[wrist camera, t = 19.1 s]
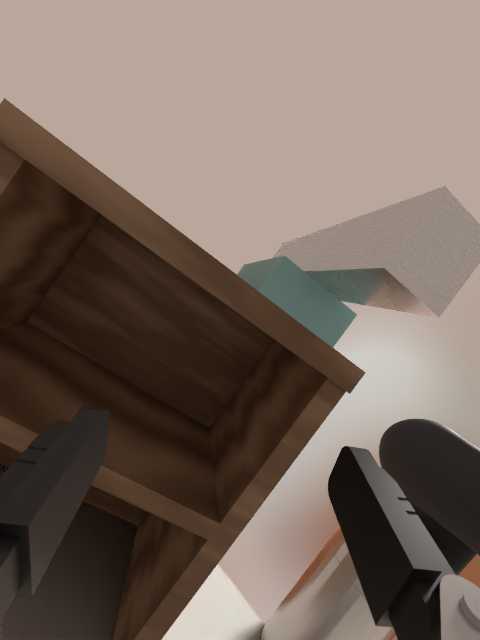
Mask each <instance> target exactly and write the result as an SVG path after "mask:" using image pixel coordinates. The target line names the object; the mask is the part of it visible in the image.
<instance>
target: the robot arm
mask: <svg viewBox="0 0 480 640" xmlns="http://www.w3.org/2000/svg"><path fill="white" fill-rule="evenodd" d="M108 424H109V410H108V409H102V408H95V407H89V406H82V407H81V408H80V409H79V410H78V412H77V413H76V414H75V415H74V417H73V418H72V419H71V420H70V422H68V421H61V420H59V421H57V422H56V423H54V424H53V425H51V426H49V427H48V428H46V429H45V430H43V431H41V432H40V433H39V435H38V436H37V437H36V438H35V439H34V440H33V441H32V442H31V443H30V445H29V446H28V448H27V450H24V451H23V452H22V454H21V455H20V456H19V457H18V458H17V459H16V462H15V463H13V464H12V465H11V466H10V467H9V468H8V469H7V470H6V471H5V472H4V474H3V475H2V476H1V477H0V640H2V631H1V621H2V619H3V617H4V616H5V614H6V612H7V610H8V609H9V607H10V605H11V603H12V602H13V600H14V598H15V596H16V595H21V596H33V594H34V592H35V590H36V588H37V587H38V585H39V583H40V581H41V579H42V577H43V575H44V573H45V571H46V570H47V568H48V566H49V564H50V562H51V560H52V558H53V556H54V554H55V552H56V551H57V549H58V547H59V545H60V543H61V541H62V539H63V537H64V535H65V533H66V532H67V530H68V528H69V526H70V524H71V522H72V520H73V518H74V516H75V514H76V513H77V511H78V509H79V507H80V505H81V503H82V501H83V499H84V497H85V495H86V494H87V492H88V490H89V488H90V486H91V484H92V482H93V480H94V478H95V476H96V475H97V473H98V471H99V469H100V467H101V465H102V462H103V459H104V456H105V453H106V448H107V438H108ZM379 457H380V463H381V466H382V468H380V467H379V466H378V464H377V463H376V461H375V460H374V458H373V456H372V454H371V453H370V452H369V451H368V450H367V449H362V448H355V447H348V446H345V447H343V448H342V449H341V452H340V454H339V456H338V458H337V461H336V463H335V466H334V468H333V470H332V472H331V475H330V477H329V481H328V492H329V497H330V500H331V503H332V506H333V509H334V511H335V514H336V516H337V520H338V522H339V525H340V526H339V527H338V529H337V530H336V531H335V533H334V534H333V535H332V537H331V538H330V540H329V541H328V542H327V543H326V545H325V546H324V547H323V549H322V550H321V551H320V553H319V554H318V555H317V557H316V558H315V559H314V561H313V562H312V563H311V564H310V566H309V567H308V568H307V570H306V571H305V572H304V574H303V575H302V576H301V578H300V579H299V580H298V582H297V583H296V584H295V586H294V587H293V588H292V590H291V591H290V592H289V593H288V595H287V596H286V597H285V599H284V600H283V601H282V602H281V604H280V605H279V606H278V608H277V609H276V610H275V612H274V613H273V614H272V616H271V617H270V618H269V620H268V621H267V622H266V624H265V625H264V627H263V629H262V634H261V640H393V638H394V637H395V636H397V638H398V639H397V640H480V589H479V588H478V587H477V586H475V585H474V584H473V583H471V582H469V581H468V580H466V579H464V578H462V577H459V576H457V575H458V574H459V573H460V572H461V571H462V570H463V569H464V568H465V567H466V566H467V564H468V563H469V562H470V561H471V560H472V559H473V558H474V557H475V555H476V554H478V555H479V556H480V449H479V448H477V447H476V446H474V445H473V444H471V443H469V442H468V441H466V440H465V439H463V438H462V437H461V436H459V435H458V434H457V433H456V432H454V431H452V430H451V429H449V428H448V427H446V426H444V425H442V424H440V423H437V422H434V421H430V420H425V419H408V420H403V421H400V422H398V423H395V424H393V425H392V426H391V427H389V428H388V429H387V430H386V431H385V433H384V434H383V436H382V438H381V441H380V446H379Z"/></svg>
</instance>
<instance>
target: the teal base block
mask: <svg viewBox="0 0 480 640" xmlns="http://www.w3.org/2000/svg"><path fill="white" fill-rule="evenodd" d="M237 275H238V276H239V277H240V278H242V279H243V280H244V281H245V282H247V283H248V284H249V285H251V286H252V287H253V288H255V289H256V290H257V291H259V292H260V293H261V294H263V295H264V296H265V297H266V298H268V299H269V300H270V301H272V302H273V303H274V304H276V305H277V306H278V307H280V308H281V309H282V310H284V311H285V312H286V313H288V314H289V315H290V316H291V317H293V318H294V319H295V320H297V321H298V322H299V323H301V324H302V325H303V326H305V327H306V328H307V329H309V330H310V331H311V332H313V333H314V334H315V335H316V336H318V337H319V338H320V339H322V340H323V341H324V342H326V343H327V344H328V345H330V346H331V347H332V348H333V347H334V345H335V344H336V343H337V341H338V340H339V339H340V337H341V336H342V335H343V333H344V332H345V330H346V329H347V328H348V326H349V325H350V324H351V322H352V321H353V319H354V318H355V317H356V316H357V315H356V314H355V313H354V312H353V311H352V310H351V309H349V308H348V307H347V306H346V305H345V304H343V303H342V302H341V301H340V300H338V299H337V298H336V297H335V296H334V295H332V294H331V293H330V292H329V291H327V290H326V289H325V288H324V287H323V286H321V285H320V284H319V283H318V282H317V281H315V280H314V279H313V278H312V277H310V276H309V275H308V274H307V273H306V272H304V271H303V270H302V269H301V268H299V267H298V266H297V265H296V264H295V263H293V262H292V261H291V260H290V259H289V258H287V257H286V256H281V257H277V258H272V259H268V260H263V261H259V262H254V263H250V264H245V265H244V266H243V267H242V269H241V270H240V271H239V273H238V274H237Z"/></svg>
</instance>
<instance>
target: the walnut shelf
mask: <svg viewBox="0 0 480 640" xmlns="http://www.w3.org/2000/svg"><path fill="white" fill-rule="evenodd" d="M364 374H365V372H364V371H363V370H361V369H360V368H359V367H357V366H356V365H355V364H353V363H352V362H351V361H349V360H348V359H347V358H345V357H344V356H343V355H341V354H340V353H339V352H338V351H336V350H335V349H334V348H332V347H331V346H330V345H328V344H327V343H326V342H324V341H323V340H322V339H320V338H319V337H318V336H316V335H315V334H314V333H313V332H311V331H310V330H309V329H307V328H306V327H305V326H303V325H302V324H301V323H299V322H298V321H297V320H295V319H294V318H293V317H291V316H290V315H289V314H288V313H286V312H285V311H284V310H282V309H281V308H280V307H278V306H277V305H276V304H274V303H273V302H272V301H270V300H269V299H268V298H266V297H265V296H264V295H263V294H261V293H260V292H259V291H257V290H256V289H255V288H253V287H252V286H251V285H249V284H248V283H247V282H245V281H244V280H243V279H242V278H240V277H239V276H238V275H236V274H235V273H234V272H232V271H231V270H230V269H228V268H227V267H226V266H224V265H223V264H222V263H220V262H219V261H218V260H217V259H215V258H214V257H213V256H211V255H210V254H208V253H207V252H206V251H204V250H203V249H202V248H201V247H199V246H198V245H197V244H195V243H194V242H193V241H191V240H190V239H189V238H188V237H186V236H185V235H184V234H182V233H181V232H180V231H178V230H177V229H175V228H174V227H173V226H172V225H170V224H169V223H168V222H166V221H165V220H164V219H163V218H161V217H160V216H159V215H157V214H156V213H154V212H153V211H152V210H151V209H149V208H148V207H147V206H145V205H144V204H143V203H142V202H140V201H139V200H137V199H136V198H135V197H133V196H132V195H131V194H130V193H128V192H127V191H126V190H124V189H123V188H122V187H120V186H119V185H118V184H116V183H115V182H114V181H112V180H111V179H110V178H108V177H107V176H106V175H105V174H103V173H102V172H101V171H99V170H98V169H97V168H95V167H94V166H93V165H92V164H90V163H89V162H88V161H86V160H85V159H83V158H82V157H81V156H80V155H78V154H77V153H76V152H74V151H73V150H72V149H70V148H69V147H68V146H66V145H65V144H64V143H63V142H61V141H60V140H59V139H57V138H56V137H55V136H53V135H52V134H51V133H49V132H48V131H47V130H45V129H44V128H43V127H42V126H40V125H39V124H38V123H36V122H35V121H33V120H32V119H31V118H30V117H28V116H27V115H26V114H24V113H23V112H22V111H20V110H19V109H18V108H16V107H15V106H14V105H13V104H11V103H10V102H9V101H7V100H6V99H5V98H4V100H3V101H2V102H1V104H0V464H2V465H4V466H6V467H8V468H9V467H10V466H11V465H12V464H13V463H15V462H16V459H17V458H18V457H19V456H20V455H21V454H22V452H23V451H24V450H27V448H28V446H29V445H30V443H31V442H32V441H33V440H34V439H35V438H36V437H37V436H38V435H39V433H40V432H41V431H43V430H45V429H46V428H48V427H49V426H51V425H53V424H54V423H56V422H57V421H59V420H61V421H68V422H70V420H71V419H72V418H73V417H74V415H75V414H76V413H77V412H78V410H79V409H80V408H81V407H82V406H89V407H95V408H102V409H108V410H109V424H108V438H107V448H106V453H105V456H104V459H103V462H102V465H101V467H100V469H99V471H98V473H97V475H96V476H95V478H94V480H93V482H92V484H91V486H90V488H89V490H88V492H87V494H86V495H85V497H84V499H83V501H84V502H86V503H88V504H90V505H92V506H95V507H97V508H99V509H101V510H103V511H106V512H108V513H110V514H112V515H114V516H117V517H119V518H121V519H123V520H125V521H128V522H130V523H132V524H134V525H136V526H138V527H137V531H136V536H135V541H134V545H133V550H132V554H131V559H130V563H129V568H128V572H127V577H126V582H125V586H124V591H123V595H122V600H121V604H120V609H119V613H118V618H117V623H116V627H115V632H114V636H113V640H161V639H162V638H163V636H164V635H165V634H166V632H167V631H168V630H169V628H170V627H171V626H172V624H173V623H174V622H175V620H176V619H177V618H178V616H179V615H180V614H181V612H182V611H183V610H184V608H185V607H186V606H187V604H188V603H189V602H190V600H191V599H192V598H193V596H194V595H195V594H196V592H197V591H198V589H199V588H200V587H201V585H202V584H203V583H204V581H205V580H206V579H207V577H208V576H209V575H210V573H211V572H212V571H213V569H214V568H215V567H216V565H217V564H218V563H219V561H220V560H221V559H222V557H223V556H224V555H225V553H226V552H227V550H228V549H229V548H230V547H231V545H232V544H233V542H234V541H235V540H236V538H237V537H238V535H239V534H240V533H241V532H242V530H243V529H244V528H245V526H246V525H247V523H248V522H249V521H250V520H251V518H252V517H253V516H254V514H255V513H256V512H257V510H258V509H259V507H260V506H261V505H262V504H263V502H264V501H265V500H266V498H267V497H268V495H269V494H270V493H271V491H272V490H273V489H274V487H275V486H276V485H277V483H278V482H279V481H280V479H281V478H282V477H283V475H284V474H285V472H286V471H287V470H288V469H289V467H290V466H291V465H292V463H293V462H294V461H295V459H296V458H297V456H298V455H299V454H300V453H301V451H302V450H303V448H304V447H305V446H306V444H307V443H308V442H309V440H310V439H311V437H312V436H313V435H314V434H315V432H316V431H317V429H318V428H319V427H320V425H321V424H322V423H323V422H324V420H325V419H326V418H327V416H328V415H329V413H330V412H331V411H332V409H333V408H334V407H335V406H336V404H337V403H338V401H339V400H340V399H341V397H342V396H343V395H344V393H345V392H346V391H347V392H348V393H351V391H352V390H353V389H354V387H355V386H356V385H357V383H358V382H359V380H360V379H361V378H362V377H363V375H364Z"/></svg>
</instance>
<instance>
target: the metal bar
mask: <svg viewBox="0 0 480 640" xmlns="http://www.w3.org/2000/svg"><path fill="white" fill-rule="evenodd" d="M281 256H286V257H287V258H289V259H290V260H291V261H292V262H293V263H295V264H296V265H297V266H298V267H299V268H301V269H302V270H303V271H304V272H306V273H307V274H308V275H309V276H310V277H312V278H313V279H314V280H315V281H317V282H318V283H319V284H320V285H321V286H323V287H324V288H325V289H326V290H327V291H329V292H330V293H331V294H332V295H334V296H335V297H336V298H337V299H338V300H340V301H344V302H350V303H356V304H362V305H368V306H373V307H380V308H385V309H391V310H397V311H403V312H409V313H415V314H421V315H427V316H433V317H440V315H441V314H442V313H443V311H444V310H445V309H446V307H447V306H448V305H449V303H450V302H451V301H452V299H453V298H454V296H455V295H456V294H457V293H458V291H459V290H460V289H461V287H462V286H463V284H464V283H465V282H466V280H467V279H468V278H469V277H470V275H471V274H472V273H473V271H474V270H475V269H476V267H477V266H478V264H479V263H480V224H479V223H478V222H477V221H476V220H475V219H474V218H473V217H472V216H471V214H470V213H469V212H468V211H467V210H466V209H465V208H464V207H463V206H462V205H461V203H460V202H458V200H457V199H456V198H455V197H454V196H453V195H452V194H451V193H450V192H449V190H448V189H447V188H446V187H445V186H444V187H441V188H439V189H436V190H433V191H430V192H427V193H424V194H422V195H419V196H416V197H413V198H410V199H407V200H405V201H402V202H399V203H396V204H393V205H391V206H388V207H385V208H382V209H379V210H377V211H374V212H371V213H368V214H365V215H362V216H359V217H357V218H354V219H351V220H348V221H345V222H343V223H340V224H337V225H334V226H331V227H328V228H326V229H323V230H320V231H318V232H315V233H312V234H309V235H306V236H303V237H300V238H297V239H295V240H292V241H289V242H286V243H283V244H282V246H281V247H280V249H279V250H278V251H277V253H276V254H275V255H274V257H273V258H277V257H281Z"/></svg>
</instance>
